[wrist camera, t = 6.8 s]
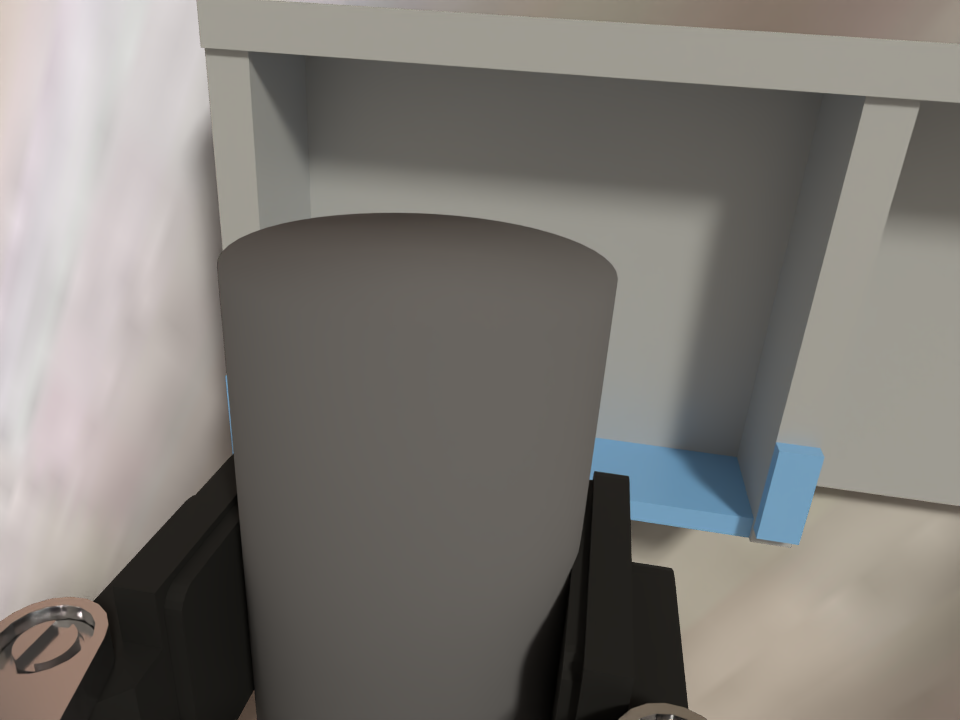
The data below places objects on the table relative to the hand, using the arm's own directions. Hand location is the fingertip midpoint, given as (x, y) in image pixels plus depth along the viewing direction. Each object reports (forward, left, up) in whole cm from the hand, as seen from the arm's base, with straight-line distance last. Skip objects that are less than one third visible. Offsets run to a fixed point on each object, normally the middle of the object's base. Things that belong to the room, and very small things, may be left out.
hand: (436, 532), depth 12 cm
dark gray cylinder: (0, 0, +2) cm, 2 cm away
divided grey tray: (-8, -1, -15) cm, 17 cm away
